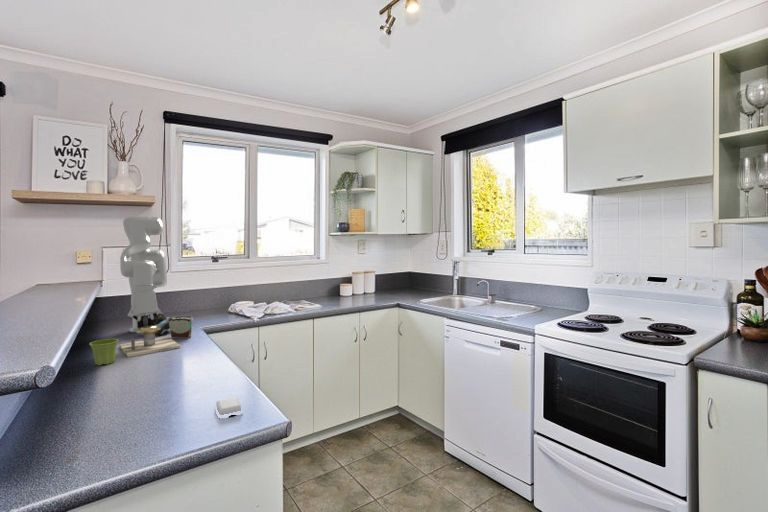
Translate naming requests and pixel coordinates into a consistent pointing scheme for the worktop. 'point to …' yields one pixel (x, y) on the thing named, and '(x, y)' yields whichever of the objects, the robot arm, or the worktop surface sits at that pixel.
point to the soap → (228, 406)
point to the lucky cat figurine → (160, 323)
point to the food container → (180, 326)
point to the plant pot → (104, 350)
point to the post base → (149, 349)
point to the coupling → (147, 325)
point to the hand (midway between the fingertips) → (145, 328)
